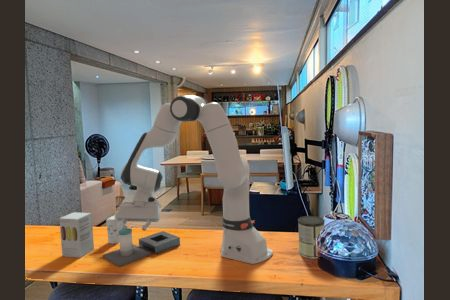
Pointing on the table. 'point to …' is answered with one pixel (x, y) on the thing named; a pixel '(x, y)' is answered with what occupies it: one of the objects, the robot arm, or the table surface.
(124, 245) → the teal-capped white cylinder
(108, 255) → the rubber mat
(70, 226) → the supplement box
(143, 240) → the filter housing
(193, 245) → the table surface
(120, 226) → the ink cartridge box
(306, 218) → the coffee can
